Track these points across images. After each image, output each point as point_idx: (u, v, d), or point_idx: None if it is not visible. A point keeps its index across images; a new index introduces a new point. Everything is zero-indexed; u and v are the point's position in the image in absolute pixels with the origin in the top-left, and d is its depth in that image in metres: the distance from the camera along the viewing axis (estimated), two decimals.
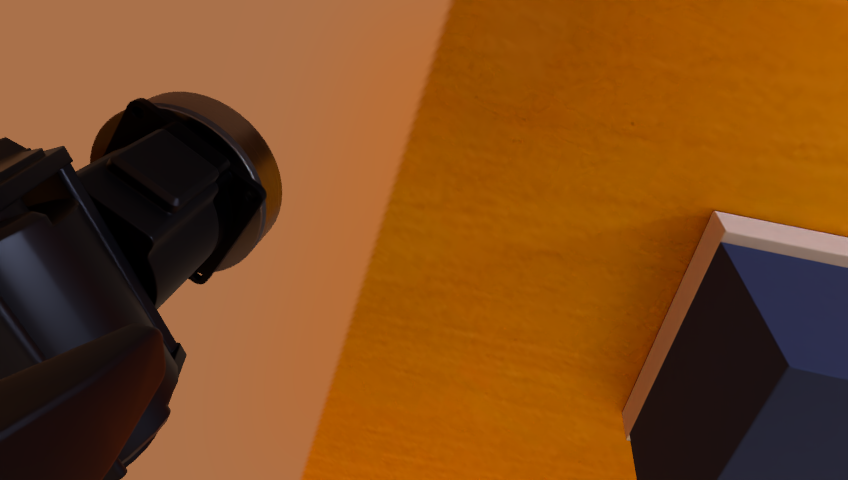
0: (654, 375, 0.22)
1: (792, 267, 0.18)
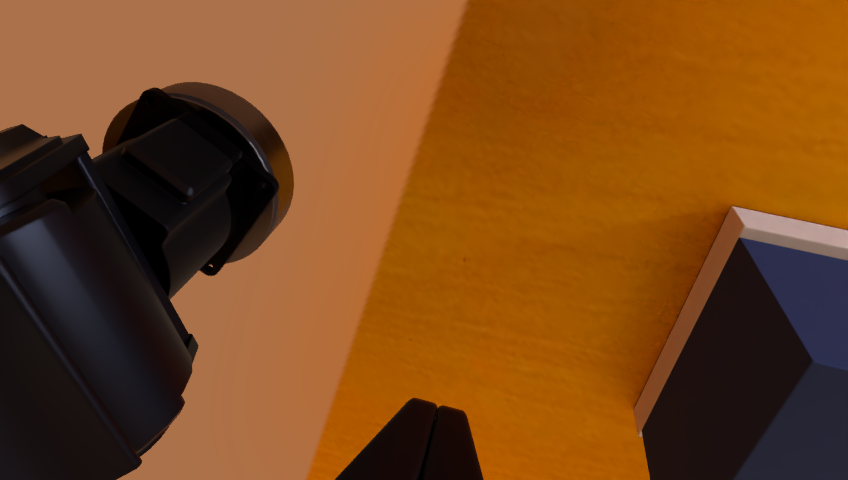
0: (668, 372, 0.22)
1: (812, 263, 0.17)
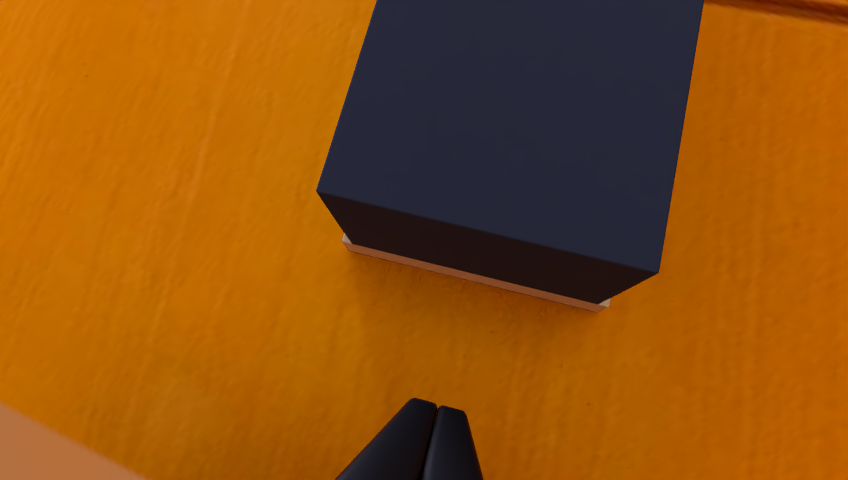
0: (512, 284, 0.21)
1: None
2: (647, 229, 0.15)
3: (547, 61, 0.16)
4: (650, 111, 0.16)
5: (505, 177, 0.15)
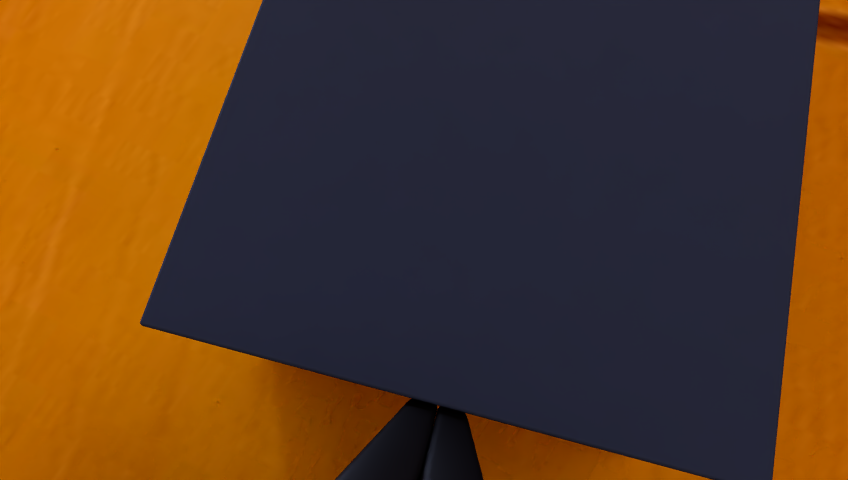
0: None
1: None
2: (745, 404, 0.08)
3: (554, 89, 0.09)
4: (739, 177, 0.09)
5: (482, 301, 0.08)
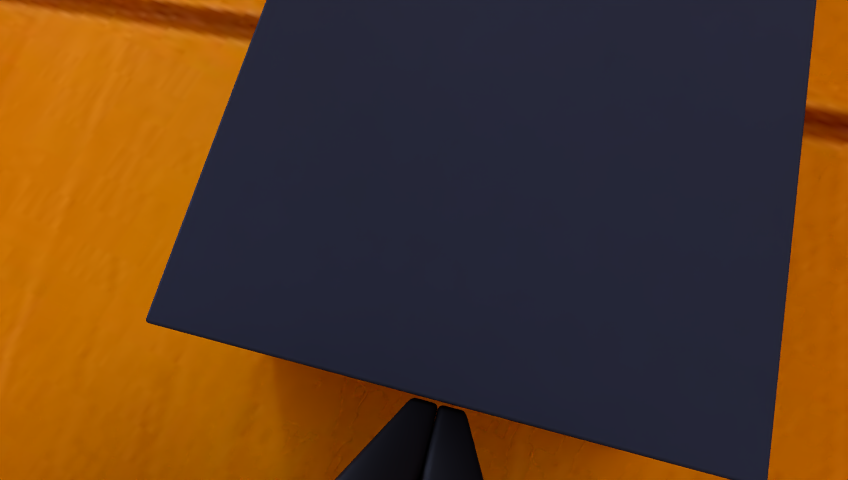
0: None
1: None
2: (741, 400, 0.08)
3: (554, 90, 0.09)
4: (736, 177, 0.09)
5: (482, 298, 0.09)
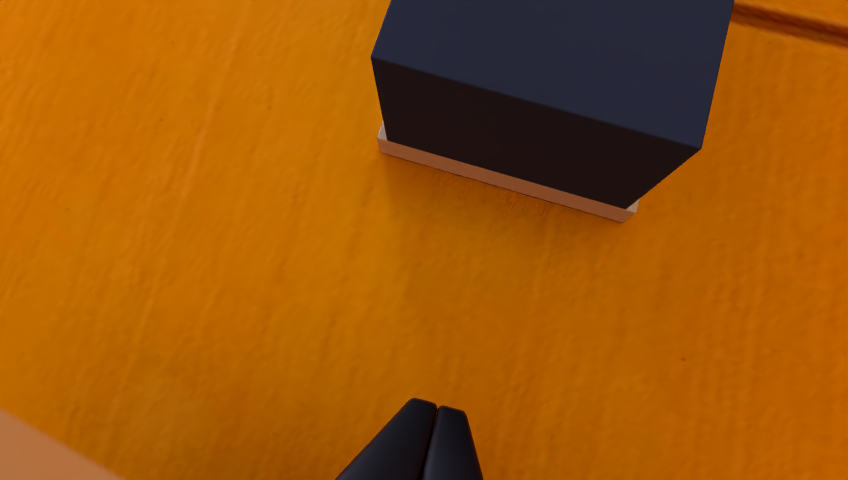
0: (543, 187, 0.21)
1: None
2: (692, 107, 0.15)
3: None
4: None
5: (557, 53, 0.16)
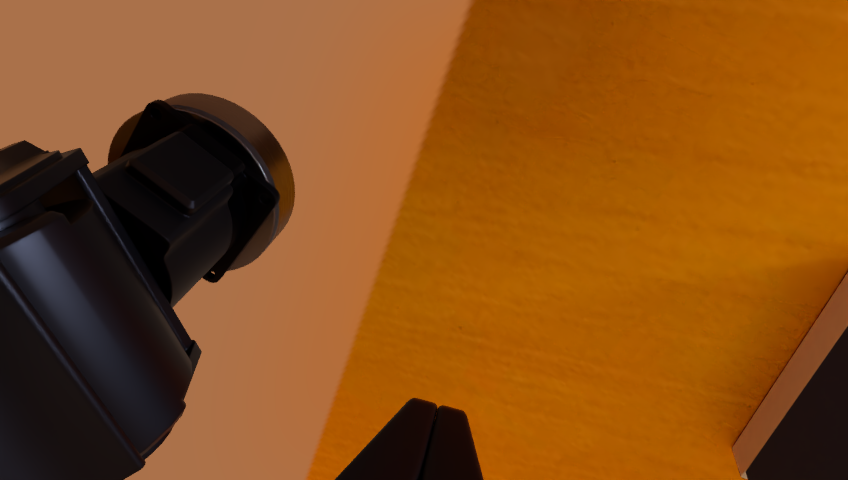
0: (780, 416, 0.21)
1: None
2: None
3: None
4: None
5: None
